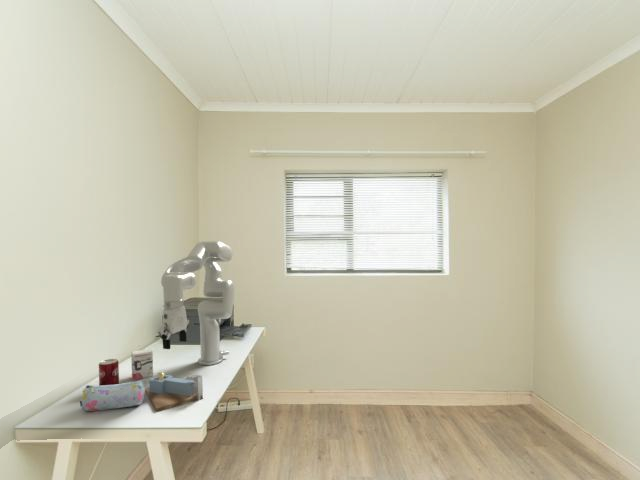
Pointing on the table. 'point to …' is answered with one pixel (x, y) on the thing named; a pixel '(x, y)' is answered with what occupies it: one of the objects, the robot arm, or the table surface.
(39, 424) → the table surface
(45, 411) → the table surface
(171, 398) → the board
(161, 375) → the peg
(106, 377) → the soda can
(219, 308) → the robot arm
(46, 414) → the table surface
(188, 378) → the plate
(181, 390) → the link
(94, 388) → the pencil case
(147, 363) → the ink box
